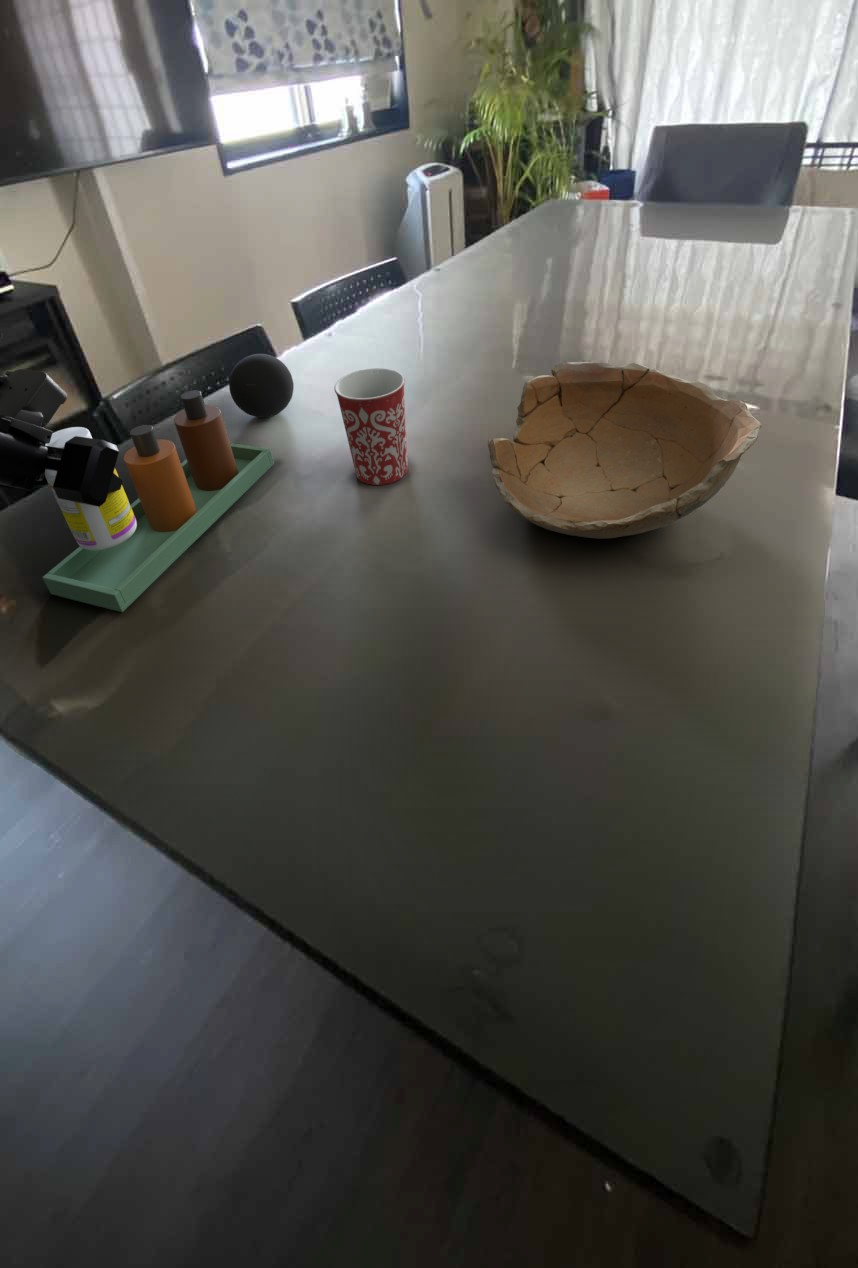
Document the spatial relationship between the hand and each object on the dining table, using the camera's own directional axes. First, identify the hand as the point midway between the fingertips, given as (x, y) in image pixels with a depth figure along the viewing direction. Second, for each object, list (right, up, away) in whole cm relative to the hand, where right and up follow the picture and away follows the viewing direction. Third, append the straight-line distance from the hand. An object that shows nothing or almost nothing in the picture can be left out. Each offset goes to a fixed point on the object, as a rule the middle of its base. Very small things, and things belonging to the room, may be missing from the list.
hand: (96, 480), depth 75 cm
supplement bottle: (0, -6, +3) cm, 7 cm away
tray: (+4, -5, +13) cm, 14 cm away
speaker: (+11, +12, +36) cm, 40 cm away
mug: (+31, +3, +20) cm, 37 cm away
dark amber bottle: (+7, +1, +20) cm, 21 cm away
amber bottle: (+4, -4, +13) cm, 14 cm away
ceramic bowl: (+60, -2, +10) cm, 60 cm away
